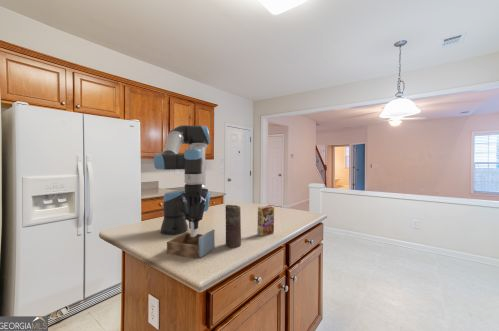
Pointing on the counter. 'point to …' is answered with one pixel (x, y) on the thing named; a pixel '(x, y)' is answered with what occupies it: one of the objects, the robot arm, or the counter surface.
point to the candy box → (265, 220)
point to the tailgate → (206, 243)
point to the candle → (233, 226)
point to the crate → (184, 245)
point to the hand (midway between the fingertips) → (193, 235)
